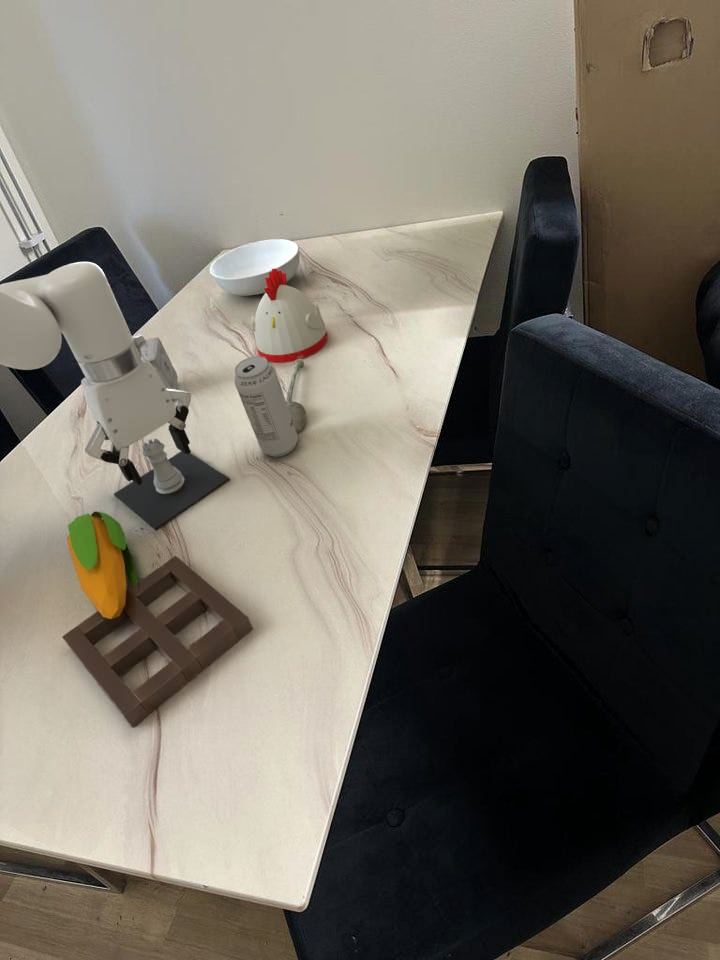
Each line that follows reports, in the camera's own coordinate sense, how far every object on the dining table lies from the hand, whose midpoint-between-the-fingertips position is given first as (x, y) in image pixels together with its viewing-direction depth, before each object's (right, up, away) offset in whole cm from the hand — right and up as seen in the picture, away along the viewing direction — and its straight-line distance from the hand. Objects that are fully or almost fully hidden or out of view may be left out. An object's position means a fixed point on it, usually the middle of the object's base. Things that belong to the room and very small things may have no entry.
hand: (160, 465), depth 97 cm
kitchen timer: (+16, +24, +32) cm, 43 cm away
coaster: (+1, -3, +3) cm, 5 cm away
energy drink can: (+17, +3, +6) cm, 18 cm away
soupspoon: (+18, +11, +16) cm, 27 cm away
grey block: (-9, +13, +26) cm, 30 cm away
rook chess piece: (+1, -3, +3) cm, 4 cm away
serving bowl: (+6, +43, +58) cm, 72 cm away
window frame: (+6, -21, -20) cm, 29 cm away
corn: (-2, -16, -11) cm, 19 cm away
